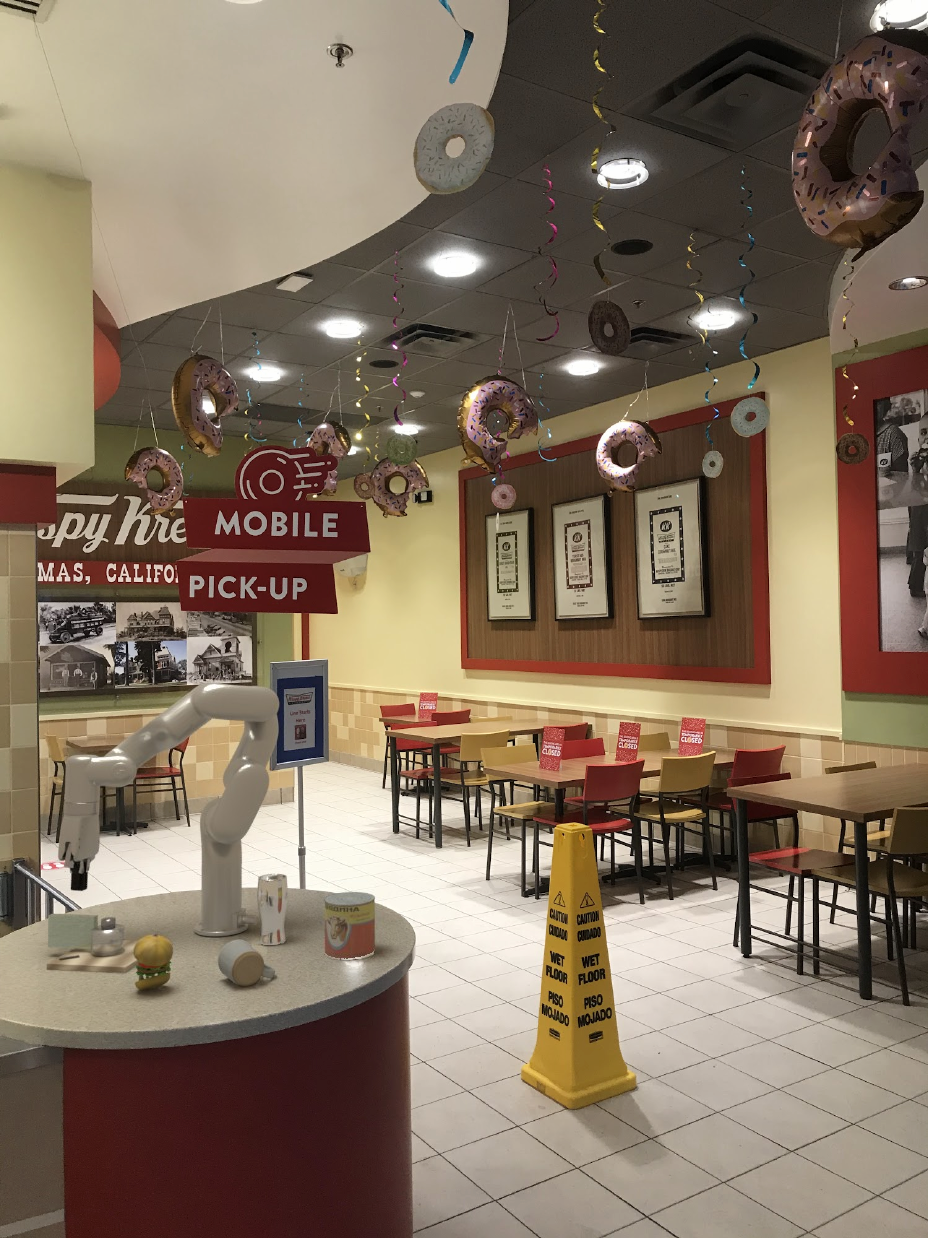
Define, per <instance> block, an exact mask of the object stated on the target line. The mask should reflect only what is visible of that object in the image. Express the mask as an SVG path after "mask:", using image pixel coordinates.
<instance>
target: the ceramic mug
mask: <svg viewBox="0 0 928 1238" xmlns="http://www.w3.org/2000/svg"><path fill="white" fill-rule="evenodd" d="M217 965H218V968H219V971H220V972H221V973H222V974H223V975H224V976H225V977H227V978H228V979H229V980H230V981H231V982H232V983H233V984H236V985H238V986H242V987H248V986H251V985H253V984H256V983H257V982H258V981H259V980H260V979H261V978H262V977H263V978H267V979H273V978H274V976H275V973H276V970H275V968H274V967H272V966H270V965H268V964H265V960H264V957H263V956H262V954H261V953H260V952H259V951H258V950H257V949H255V948H254V947H253V945H252V944H250V942H248V941H246V940H244V939H240V938H239V939H234V940H230V941H228V942H227V943H226V944H224V946H223V947H222V948H221V950H220V953H219V955H218V957H217Z"/></svg>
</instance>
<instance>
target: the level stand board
mask: <svg viewBox="0 0 928 1238" xmlns="http://www.w3.org/2000/svg"><path fill="white" fill-rule="evenodd" d="M138 941H139V940H129V939H128V940H127V939H125V950H124V951H123V952H121V953H119V954H115V955H109V956H96V955H92V954H91V949H75V948H72V949H71V950H69V951H68V952H65V953H63V954H62V955H61V956H58V957H57V958H55V959H53V960H50V961H49V962H47V963H46V970H52V971H54V970H55V971H70V972H71V971H74V972H75V971H76V972H96V973H97V972H99V973H112V974H113V973H118V974H127V972H128V973H129V971H131V970H132V969H134V968H136V965H138V964H137V963H138V962H139V961H138V960H137V959H135V957H134V954H133V953H134V947H135V945H136V943H137V942H138Z"/></svg>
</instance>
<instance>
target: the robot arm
mask: <svg viewBox="0 0 928 1238" xmlns="http://www.w3.org/2000/svg"><path fill="white" fill-rule="evenodd" d="M279 708H280V701H279V697H278V695H277V694H276V692H275V691H274V690H272V689H271V688H268V687H266V686H259V685H251V686H250V685H239V684H238V685H237V684H235V685H234V684H226V683H225V684H224V683H220V682H219V683H218V682H211V681H210V682H208V681H207V682H204V683H203V682H202V683H200V684H199V685H197V686H195V687H194V688H193V689H192V690H190V691H189V692H188V693H186V694H185V695H184V696H183V697H181V698H179V700H177V701H176V702H175V703H173V704H172V705H171V706H169V707H168V708H167V709H165V710H163V711H162V712H161V713H160V714H159V715H158V716H156V717H154V718H153V719H152V720H151V721H149V722H148V723H147V724H145V725H144V726H143V727H140V728H139V729H138V730H137V731H135V732H134V733H133V734H131V735H129V736H128V737H127V738H125V739H124V740H122V742H120V743H119V744H118V745H116V746H115V747H114V748H112V749H111V750H110V751H109V752H107V753H106V754H105V755H103V756H98V755H96V754H75V755H70V756H68V757H67V759H66V763H65V779H64V780H65V781H64V782H65V783H64V785H65V786H64V804H63V805H64V807H63V809H64V811H63V813H64V814H63V817H62V821H61V826H60V831H59V837H58V838H59V840H58V849H57V850H58V851H57V852H58V853H57V859H58V860H59V861H60V862H63V861H64V865H63V866H64V868H66V869H67V868H69V873H70V890H71V891H77V892H84V891H86V890H87V889H88V882H89V881H88V877H89V871H90V867H91V866H90V865H91V862H92V861H94V860H95V859H96V855H98V853H99V850H100V844H101V843H100V842H101V841H100V839H101V837H100V836H101V835H100V834H101V833H100V816H99V815H100V799H101V798H100V796H101V786H103V787H111V788H122V787H125V786H128V785H129V784H131V783H132V782H133V781H134V780H135V778H136V776H137V773H138V769H139V768H141V766H142V765H144V764H145V763H147V762H148V761H150V760H151V759H152V758H154V757H155V756H157V755H159V754H161V753H164V752H165V751H167V750H172V749H174V748H175V747H177V746H179V745H181V744H182V743H183V742H185V741H186V740H187V739H188V738H190V736H192V735H193V734H195V733H196V732H198V730H200V729H201V728H203V727H204V726H205V725H206V724H208V723H209V722H210V721H211V720H213V719H215V720H225V721H238V722H239V721H240V722H244V723H243V725H244V728H243V731H242V732H243V733H242V735H241V737H240V740H239V743H238V745H237V747H236V749H235V751H234V753H233V755H232V757H231V759H230V761H229V762H228V764H227V766H226V768H225V770H224V772H223V775H222V776H223V777H222V783H223V785H224V791H223V793H222V794H221V797H218V798H215V799H212V800H210V801H209V802H208V803H206V804H205V806H203V808H202V811H201V814H200V816H199V817H200V818H199V819H200V820H199V831H200V832H199V833H200V843H201V844H200V845H201V903H200V904H201V907H200V908H201V911H200V912H201V913H200V915H201V916H200V919H201V921H200V922H199V923H197V924H196V925H195V926H194V933H195V934H196V935H199V936H203V937H226V936H233V935H237V934H241V933H243V932H244V931H246V930H248V928H249V925H252V926H253V925H257V923H258V916H257V915H256V914H247V912H246V910H247V909H246V907H245V908H243V904H242V903H243V902H242V901H243V899H242V898H243V897H242V896H243V895H242V894H243V891H242V890H243V889H242V888H243V887H242V884H243V879H242V877H243V876H242V875H243V873H242V872H243V871H242V870H243V869H242V868H243V848H242V840H243V838H244V837H246V836H247V834H248V832H249V831H250V829H251V826H252V825H253V823H254V820H255V819H256V817H257V815H258V813H259V810H260V809H261V806H262V804H263V802H264V800H265V798H266V795H267V793H268V791H269V786H270V774H269V772H268V770H267V766H268V764H269V761H270V758H271V757H272V755H273V752H274V750H275V747H276V745H277V741H278V737H279V728H280V727H279V721H278V715H277V714H278V711H279Z"/></svg>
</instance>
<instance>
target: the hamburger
mask: <svg viewBox="0 0 928 1238" xmlns="http://www.w3.org/2000/svg"><path fill="white" fill-rule="evenodd" d="M137 941H138V942H137V943H136V945H135V947H134V953H133V954H134V957H135V959H137V960H138V961H139V962H138V963H137V964H138V965H136V966H135V969H137V970H136V971H135V974H136V975H137V976H138V981H135V982H134V985H135V987H136V989H137V990H140V991H148V990H153V989H156V988H159V987H162V986H163V985H165V984H167V983H168V982H169V980H170V979H171V971H172V968H171V965H170V964H172V962H171V960H172V958H173V954H174V947H173V944H172V943H171V941H170V939H168V938H166V937H165V936H163V935H160V934H159V931H157V932H156V933H153V934H147V935H145V936H143V937H141V938H140V939H139V940H137ZM144 976H145V978H144Z"/></svg>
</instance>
